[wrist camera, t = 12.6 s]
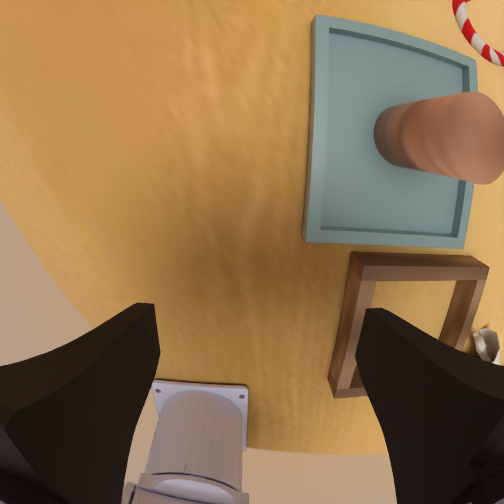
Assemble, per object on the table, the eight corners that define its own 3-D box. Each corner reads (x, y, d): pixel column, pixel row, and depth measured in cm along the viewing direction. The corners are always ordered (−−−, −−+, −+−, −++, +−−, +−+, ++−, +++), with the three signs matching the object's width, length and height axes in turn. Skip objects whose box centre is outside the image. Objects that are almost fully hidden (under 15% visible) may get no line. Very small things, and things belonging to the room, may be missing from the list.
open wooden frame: (436, 366, 24) (447, 382, 22) (327, 378, 24) (333, 398, 22) (471, 255, 21) (489, 267, 18) (351, 251, 20) (363, 265, 18)
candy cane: (547, 18, 12) (505, 85, 15) (539, 19, 13) (495, 86, 17) (500, -44, 10) (444, 4, 14) (493, -40, 11) (436, 9, 15)
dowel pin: (424, 170, 18) (506, 190, 10) (372, 163, 18) (444, 177, 10) (427, 112, 17) (509, 105, 9) (374, 101, 17) (446, 80, 9)
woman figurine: (525, 309, 18) (537, 381, 23) (496, 285, 22) (520, 361, 27) (427, 406, 20) (470, 444, 26) (407, 373, 25) (457, 421, 30)
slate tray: (452, 242, 20) (463, 249, 19) (301, 235, 20) (305, 242, 19) (464, 63, 16) (475, 60, 14) (310, 22, 15) (315, 14, 14)
